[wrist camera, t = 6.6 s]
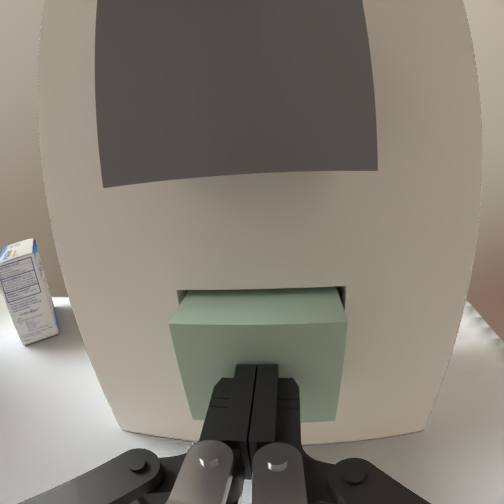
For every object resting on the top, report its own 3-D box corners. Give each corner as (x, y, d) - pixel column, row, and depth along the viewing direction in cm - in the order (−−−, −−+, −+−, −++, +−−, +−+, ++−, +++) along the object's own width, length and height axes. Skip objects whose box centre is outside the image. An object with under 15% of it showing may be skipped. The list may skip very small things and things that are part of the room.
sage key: (192, 419, 12) (168, 323, 11) (218, 337, 18) (208, 257, 17) (335, 420, 12) (347, 321, 10) (322, 336, 18) (324, 254, 16)
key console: (121, 429, 16) (68, -97, 6) (159, 356, 24) (122, -49, 13) (422, 430, 14) (403, -134, 4) (391, 353, 22) (373, -72, 11)
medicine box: (60, 335, 27) (34, 252, 24) (22, 347, 24) (-7, 264, 21) (54, 306, 33) (35, 236, 30) (22, 315, 30) (1, 246, 27)
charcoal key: (103, 188, 7) (97, -4, 5) (183, 164, 13) (176, 52, 11) (378, 171, 6) (354, -39, 4) (330, 156, 12) (321, 39, 11)
